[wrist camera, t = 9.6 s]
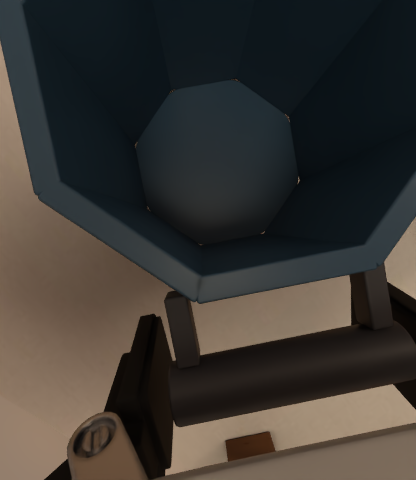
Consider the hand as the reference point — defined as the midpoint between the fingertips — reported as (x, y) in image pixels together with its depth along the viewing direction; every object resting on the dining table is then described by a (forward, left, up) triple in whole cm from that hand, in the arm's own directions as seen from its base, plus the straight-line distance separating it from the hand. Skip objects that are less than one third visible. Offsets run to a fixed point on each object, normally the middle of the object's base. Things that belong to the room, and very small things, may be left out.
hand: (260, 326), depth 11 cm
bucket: (0, +12, -3) cm, 13 cm away
